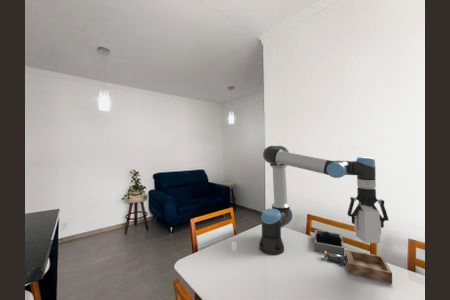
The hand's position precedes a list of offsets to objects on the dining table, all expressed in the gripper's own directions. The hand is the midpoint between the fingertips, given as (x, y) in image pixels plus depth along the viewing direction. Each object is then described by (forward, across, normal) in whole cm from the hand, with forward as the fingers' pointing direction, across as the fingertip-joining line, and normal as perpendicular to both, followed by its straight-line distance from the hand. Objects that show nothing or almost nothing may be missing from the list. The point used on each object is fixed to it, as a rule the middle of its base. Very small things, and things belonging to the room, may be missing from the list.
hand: (367, 231), depth 95 cm
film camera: (+19, -18, +19) cm, 32 cm away
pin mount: (+19, -14, +2) cm, 24 cm away
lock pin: (+19, -15, +2) cm, 24 cm away
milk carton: (+4, 0, 0) cm, 4 cm away
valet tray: (+19, -17, +19) cm, 32 cm away
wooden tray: (+19, 0, 0) cm, 19 cm away
